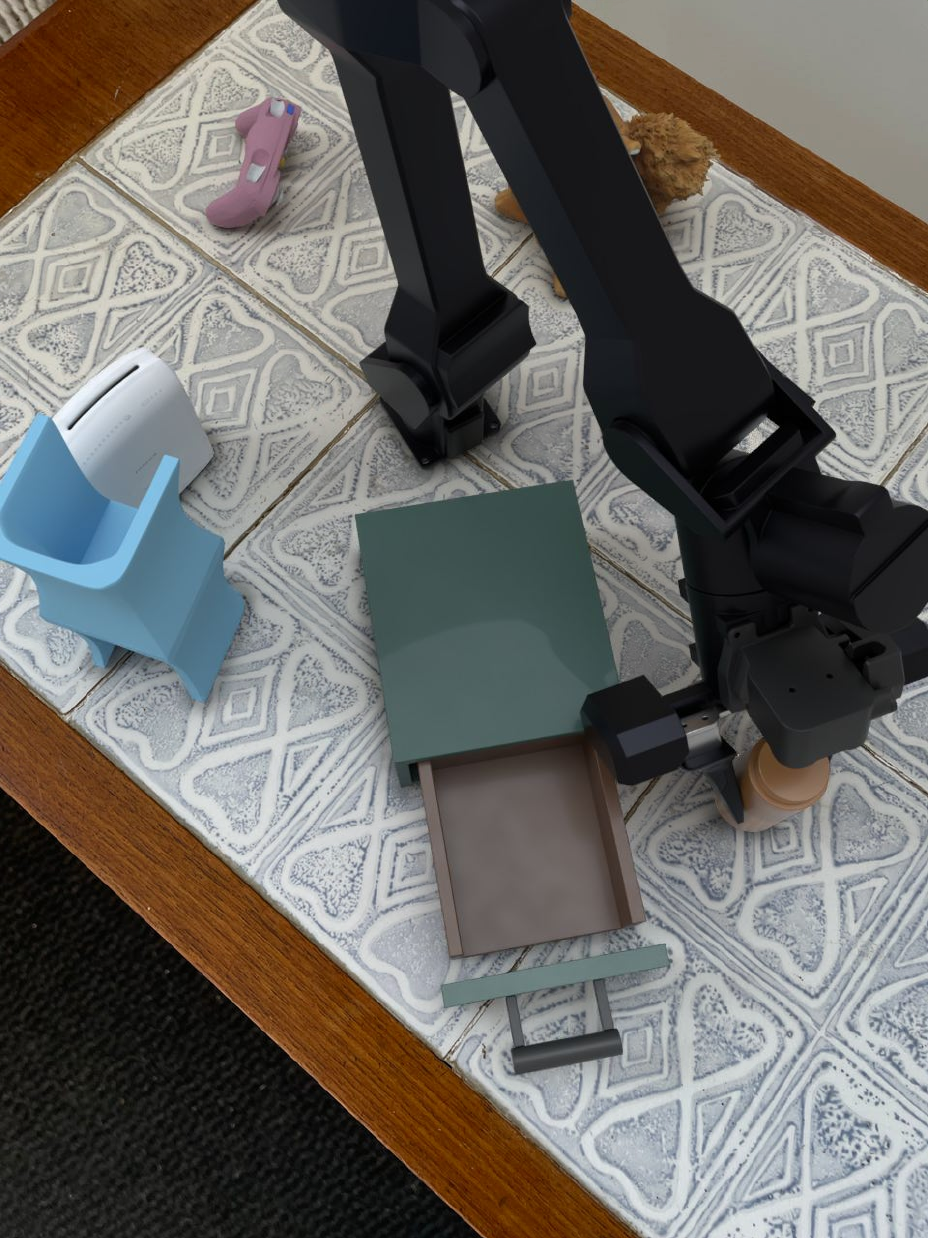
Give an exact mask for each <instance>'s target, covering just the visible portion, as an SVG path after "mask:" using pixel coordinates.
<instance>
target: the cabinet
mask: <svg viewBox="0 0 928 1238" xmlns="http://www.w3.org/2000/svg"><path fill="white" fill-rule="evenodd" d="M354 520H355V528H356V533H357V539H358V545H359V546H358V547H359V553H360V560H361V565H362V571H363V578H364V585H365V590H366V597H367V603H368V610H369V616H370V622H371V628H372V635H373V640H374V641H373V642H374V646H375V647H374V648H375V653H376V661H377V666H378V672H379V679H380V684H381V691H382V698H383V705H384V710H385V716H386V717H385V718H386V722H387V730H388V736H389V742H390V748H391V755H392V761H393V765H394V768H395V769H394V770H395V772H396V773H395V774H396V776H397V780H398V784H399V787H400V788H405V787H411V786H416V785H417V786H418V785H421V783H420V777H419V771H418V765H417V762H421V761H427V760H433V759H439V758H445V757H450V756H456V755H462V754H468V753H473V752H479V751H485V750H491V749H496V748H502V747H508V746H514V745H520V744H525V743H531V742H537V741H543V740H548V739H554V738H560V737H566V736H571V735H577V734H583V733H584V728H583V724H582V720H581V716H580V710H581V708H582V706H583V704H584V701H585V699H586V697H587V695H588V694H591V693H594V692H596V691H599V690H602V689H605V688H608V687H610V686H613V685H616V684H619V683H621V681H620V678H619V673H618V669H617V664H616V659H615V655H614V652H613V647H612V642H611V639H610V635H609V630H608V626H607V621H606V617H605V612H604V608H603V603H602V599H601V595H600V590H599V586H598V581H597V577H596V572H595V569H594V564H593V560H592V555H591V552H590V546H589V541H588V538H587V533H586V529H585V525H584V520H583V516H582V511H581V507H580V504H579V499H578V494H577V490H576V486H575V481H574V479H567V480H561V481H554V482H548V483H542V484H536V485H529V486H523V487H516V488H511V489H505V490H498V491H492V492H485V493H479V494H473V495H467V496H461V497H455V498H448V499H447V498H446V499H442V500H436V501H429V502H422V503H416V504H410V505H404V506H398V507H392V508H391V507H390V508H384V509H380V510H379V509H378V510H373V511H367V512H366V511H365V512H361V513H355V514H354Z"/></svg>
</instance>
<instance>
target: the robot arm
mask: <svg viewBox="0 0 928 1238" xmlns="http://www.w3.org/2000/svg"><path fill="white" fill-rule="evenodd" d="M276 2H277V4H278V6H279V8H280V10H281V12H283V14H284V15H285V16H286V17H288V18H289V19H290V20H292V21H293V22H294V23H295V24H296V25H298V26H299V27H300V28H301V29H302V30H303V31H305V32H306V33H307V34H308V35H309V36H311V37H312V38H313V39H314V40H316V41H317V42H318V43H319V44H320V45H322V46H323V47H324V48H325V49H326V50H327V51H329V53H330V55H331V59H332V60H333V65H334V66H335V71H336V74H337V77H338V80H339V84H340V87H341V91H342V95H343V98H344V102H345V105H346V108H347V112H348V115H349V118H350V122H351V125H352V129H353V132H354V136H355V139H356V142H357V146H358V150H359V153H360V156H361V160H362V163H363V167H364V171H365V173H366V177H367V181H368V184H369V189H370V191H371V194H372V198H373V202H374V204H375V209H376V211H377V215H378V218H379V219H378V220H379V222H380V225H381V230H382V232H383V235H384V240H385V243H386V246H387V249H388V253H389V258H390V259H391V263H392V267H393V270H394V274H395V278H396V281H397V287H396V290H395V293H394V296H393V298H392V303H391V305H390V308H389V311H388V314H387V317H386V321H385V324H384V327H383V335H384V340H385V341H383V342H382V343H381V344H380V345H379V346H378V347H376V348H375V349H374V350H372V351H371V352H369V354H367V356H365V357H363V358H362V359H361V360H360V361H359V363H358V364H359V366H360V369H361V372H362V374H363V376H364V378H365V381H366V383H367V385H368V386H369V387H370V388H371V389H372V390H373V391H374V392H375V393H376V394H377V395H378V396H379V404H380V405H381V406H380V407H382V409H383V411H384V413H385V414H386V416H387V417H388V419H389V420H390V422H391V424H392V425H393V427H394V428H395V430H396V432H397V434H398V435H399V436H400V438H401V439H402V441H403V443H404V444H405V447H407V449H408V451H409V452H410V454H411V456H412V457H413V458H414V460H415V462H416V464H417V465H418V467H419V468H420V469H423V470H428V469H430V468H432V467H435V466H437V465H438V464H440V463H442V462H444V461H446V460H454V459H456V458H458V457H460V456H461V455H464V454H466V453H467V452H469V451H471V450H473V449H475V448H477V447H479V446H481V445H482V444H483V442H484V441H485V440H486V439H487V440H488V438H491V437H492V436H494V435H497V434H498V433H499V432H500V431H501V430H502V422H501V420H500V419H499V417H498V415H497V414H496V413H495V411H494V409H493V408H492V407H491V405H490V404H489V402H488V401H487V399H486V397H485V396H484V395H485V393H486V392H487V391H488V390H490V389H491V388H492V387H493V386H495V385H496V384H497V383H499V381H500V380H501V379H503V378H505V376H506V375H508V374H509V373H510V372H511V371H512V370H514V369H515V368H516V367H517V366H519V365H520V364H521V363H522V362H524V360H526V358H528V357H529V355H530V353H531V350H532V349H534V348H535V347H536V346H537V340H536V339H535V336H534V334H533V331H532V328H531V324H530V306H529V304H528V303H526V302H525V301H523V300H522V299H520V298H519V297H518V295H517V294H516V293H515V292H513V291H512V290H511V289H509V288H508V287H506V286H505V285H503V284H502V283H500V282H499V281H498V280H497V279H495V278H494V277H493V276H491V275H490V274H488V272H487V269H486V267H485V263H484V257H483V252H482V248H481V247H482V246H481V241H480V237H479V232H478V227H477V223H476V217H475V211H474V207H473V201H472V197H471V192H470V187H469V181H468V176H467V172H466V171H467V170H466V166H465V162H464V161H465V160H464V155H463V150H462V145H461V141H460V135H459V131H458V125H457V121H456V115H455V110H454V105H453V100H452V95H451V92H453V93H455V94H456V95H458V96H460V97H461V98H462V99H463V100H464V102H465V104H466V106H467V108H468V110H469V112H470V113H471V115H472V117H473V119H474V121H475V123H476V125H477V127H478V129H479V131H480V133H481V135H482V137H483V139H484V140H485V142H486V144H487V147H488V148H489V150H490V152H491V154H492V157H493V158H494V160H495V162H496V163H497V165H498V167H499V170H500V171H501V174H502V175H503V178H504V179H505V180H506V183H507V186H508V185H509V187H510V188H511V190H512V192H513V194H514V196H515V198H516V200H517V202H518V204H519V206H520V208H521V210H522V212H523V213H524V215H525V217H526V219H527V221H528V223H529V224H528V225H529V227H530V229H531V230H532V234H533V233H534V235H535V236H536V238H537V240H538V242H539V244H540V246H541V247H540V248H541V250H542V252H543V254H544V256H545V257H546V259H547V262H548V264H549V266H550V267H551V269H552V271H553V274H554V273H555V275H556V277H557V279H558V281H559V282H560V284H561V286H562V288H563V290H564V292H565V294H566V296H567V297H566V298H567V299H568V302H569V303H570V305H571V307H572V309H573V311H574V313H575V315H576V317H577V320H578V322H579V325H580V327H581V329H582V332H583V335H584V350H583V351H584V355H583V371H582V372H583V373H582V389H583V391H584V394H585V396H586V398H587V401H588V403H589V406H590V408H591V411H592V413H593V415H594V418H595V420H596V422H597V424H598V427H599V429H600V432H601V434H602V436H601V438H602V445H603V448H604V450H605V453H606V454H607V457H609V459H610V460H611V461H610V462H612V464H613V465H614V466H615V468H616V469H617V470H618V471H619V472H620V473H621V474H622V475H623V476H624V477H625V478H626V479H628V481H630V482H631V483H632V484H633V485H635V486H636V487H637V488H638V489H640V491H642V492H644V494H646V495H647V496H649V498H651V499H652V500H653V501H654V502H656V503H657V504H658V505H659V506H661V507H662V508H663V509H664V510H665V511H667V512H668V513H670V514H671V515H672V516H673V518H674V524H675V530H676V536H677V541H678V542H677V543H678V547H679V553H680V559H681V565H682V571H683V577H682V578H679V579H677V580H676V581H677V586H678V593H679V597H680V598H681V599H683V600H684V601H685V602H686V603H687V604H688V607H689V613H690V619H691V625H692V630H693V636H694V642H691V643H689V644H688V650H689V656H690V660H691V661H692V662H693V664H695V665H696V666H697V668H699V671H700V672H699V673H700V679H698V680H695V681H692V682H690V683H689V685H688V686H686V687H682V688H681V689H678V690H675V691H673V692H670V693H665V694H664V695H662V694H661V693H660V692H659V690H658V689H657V688H656V686H654V685H653V684H652V682H651V681H650V680H649V679H648V677H647V676H645V674H641V675H639V676H636V677H633V678H630V679H628V680H627V679H626V680H624V681H622V682H620V683H619V684H616V685H613V686H610V687H608V688H605V689H602V690H599V691H596V692H594V693H591V694H588V695H587V697H586V699H585V701H584V704H583V706H582V708H581V710H580V716H581V720H582V724H583V728H584V733H585V736H586V737H587V739H588V740H589V742H590V743H591V745H592V746H593V748H594V749H595V751H596V752H597V753H598V755H599V756H600V758H601V759H602V761H603V762H604V764H605V765H606V766H607V768H608V769H609V771H610V772H611V774H612V775H613V777H614V778H615V781H616V783H617V784H618V785H621V786H628V787H634V786H637V785H641V784H643V783H645V782H648V781H650V780H653V779H656V778H659V777H661V776H664V775H666V774H669V773H672V772H675V771H677V770H679V769H680V770H681V771H683V772H685V773H691V774H692V773H696V772H699V771H701V772H702V774H703V775H704V777H705V779H706V780H707V782H708V784H709V785H710V787H711V788H712V789H713V792H714V791H715V793H716V794H717V796H718V797H719V799H720V800H721V802H722V803H723V805H724V806H725V808H726V810H727V811H728V813H729V814H730V816H731V817H732V818H733V819H734V821H735V822H736V823H737V824H741V823H744V808H743V802H742V798H741V795H740V791H739V787H738V783H737V779H736V775H735V771H734V767H733V763H732V762H733V761H734V760H735V759H736V758H737V757H738V751H736V749H735V748H734V747H733V746H732V745H731V744H730V743H729V742H728V741H727V739H726V738H725V737H724V736H723V735H722V734H721V729H720V720H721V719H722V718H724V717H726V716H727V717H728V716H730V715H734V714H737V713H739V712H742V711H746V713H747V715H748V716H749V718H750V719H751V721H752V722H753V724H754V725H755V727H756V728H757V730H758V731H759V733H760V735H761V736H762V737H764V739H765V740H766V742H767V743H768V745H769V746H770V749H771V751H772V754H773V755H774V757H775V758H776V759H777V761H778V762H779V763H781V764H782V765H784V766H786V767H788V768H792V769H800V768H804V767H808V766H810V765H812V764H814V763H815V762H816V761H818V760H820V759H823V758H826V757H828V759H829V764H830V765H831V761H832V759H833V757H834V755H837V754H839V753H841V752H844V751H852V750H855V749H858V748H860V747H861V746H863V745H864V744H865V743H866V741H867V740H868V735H869V730H870V726H871V722H872V721H873V720H876V719H880V718H881V717H885V716H887V715H889V714H892V713H895V712H896V711H898V708H899V707H898V705H899V704H898V701H897V700H898V699H901V698H902V695H903V690H904V687H905V686H908V685H910V684H912V683H915V682H918V681H921V680H924V679H926V678H928V622H926V621H924V620H923V619H921V618H920V617H919V616H920V614H921V613H922V612H923V610H925V608H926V607H927V605H928V509H926V508H924V507H923V506H920V505H919V504H914V503H910V502H906V501H903V500H899V499H895V498H892V497H891V494H890V491H889V490H888V489H887V488H886V487H885V486H884V485H881V484H877V483H872V482H869V481H864V480H848V479H844V478H840V477H839V478H838V477H835V476H831V475H827V474H823V472H821V469H820V466H819V464H818V460H817V458H816V457H817V456H818V455H819V454H821V453H822V452H823V451H824V450H825V449H826V448H827V447H828V446H829V445H830V444H831V443H833V442H834V441H835V439H837V433H836V430H835V429H834V428H833V427H832V426H831V425H830V424H829V423H828V422H827V421H826V420H825V419H824V418H823V417H822V416H821V414H819V412H818V411H817V410H816V409H815V408H814V406H815V404H816V400H815V399H814V398H813V397H811V396H810V395H809V393H806V391H805V390H803V389H802V388H801V387H800V386H799V385H798V384H796V382H794V381H793V380H792V379H791V378H789V377H788V376H787V375H786V374H785V373H783V371H782V370H780V369H779V368H778V367H777V366H775V365H774V364H773V363H772V362H770V361H769V359H768V358H766V356H765V355H764V354H763V353H762V352H761V351H760V350H759V349H758V348H757V347H756V345H755V344H754V343H753V341H752V339H751V338H750V336H749V334H748V332H747V331H746V329H745V327H744V325H743V324H742V322H741V320H740V319H739V316H738V314H736V312H735V311H734V310H733V309H732V308H730V307H729V306H728V305H726V304H724V303H722V302H721V301H719V300H717V299H715V298H713V297H712V296H710V295H708V294H707V293H705V292H703V291H701V290H700V289H698V288H696V287H695V286H694V284H693V282H692V281H691V280H690V278H689V276H688V275H687V273H686V271H685V270H684V268H683V266H682V264H681V263H680V260H679V258H678V256H677V254H676V252H675V249H674V247H673V245H672V243H671V241H670V238H669V236H668V235H667V234H668V233H667V232H666V230H665V227H664V226H663V223H662V221H661V219H660V216H659V217H658V214H657V212H656V210H655V208H654V206H653V204H652V201H651V199H650V197H649V195H648V193H647V190H646V188H645V186H644V184H643V182H642V180H641V177H640V175H639V173H638V171H637V169H636V166H635V164H634V162H633V160H632V158H631V155H630V153H629V151H628V149H627V147H626V145H625V142H624V140H623V138H622V136H621V134H620V131H619V129H618V127H617V125H616V123H615V120H614V118H613V116H612V114H611V112H610V110H609V107H608V105H607V103H606V101H605V99H604V96H603V95H604V94H603V92H602V90H601V88H600V86H599V84H598V81H596V80H597V78H596V79H595V77H594V75H593V74H594V72H593V70H592V68H591V66H590V63H589V61H588V59H587V57H586V55H585V53H584V51H583V48H582V46H581V43H580V42H579V40H578V37H577V36H576V33H575V31H574V29H573V26H572V24H571V22H570V21H571V18H572V14H573V4H572V3H573V2H572V0H276ZM534 235H533V236H534ZM766 419H768V420H769V421H770V422H772V423H773V424H775V426H777V428H776V429H775V430H774V431H773V432H772V433H771V434H770V435H768V436H767V438H766V439H764V440H763V441H762V442H761V443H759V445H757V447H756V448H754V449H753V450H752V451H751V452H749V451H743V450H739V449H736V447H737V446H738V445H739V444H740V443H741V442H742V441H743V440H745V438H746V437H748V436H750V434H751V433H752V432H753V431H754V430H755V429H757V428H758V427H759V426H760V425H761V424H762V423H763V422H764V421H765V420H766ZM492 425H496V426H495V427H493V426H492ZM424 460H425V461H427V462H426V463H424V462H423V461H424Z"/></svg>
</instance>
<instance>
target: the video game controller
mask: <svg viewBox="0 0 928 1238" xmlns="http://www.w3.org/2000/svg"><path fill="white" fill-rule="evenodd" d="M302 109H303V108H302V106H301V105H298V104H296V103H294V102H293V101H290V100H289V99H285V98H282V97H274V96H273V97H272V96H271V97H267V98H265V99H264V100H263V101H262V102H261V103H259V104H257V105H255V106H252V107H249V108H248V109H245V110H244V111H242V112H241V113H240V114H239V115H238V116H237V117H236V119H235V122H234V124H235V129H236V131H237V132H238V133H239V134H240V135H241V136H242V137H243V138H245V144H244V145H245V146H244V147H245V148H244V151H245V154H244V157H243V158H244V159H243V161H242V164H241V167H240V171H239V175H238V179H237V183H236V185H235V186H234V187H233V188H232V189H231V190H230V191H228V192H227V193H225V194H223V195H222V196H219V197H218V198H216V199H214V200H212V201H210V203H209V204H208V206H206V209H205V216H206V218H207V220H208V221H209V222H210V223H211V224H212V225H214V226H216V227H218V228H219V227H220V228H226V229H230V228H238V227H239V228H240V227H242V226H246V225H248V224H250V223H252V222H254V221H255V220H257V219H258V218H260V217H264V216H265V215H266V213H267V211H268V210H269V208H270V206H271V205H273V204H275V207H278V206H279V205H280V204H282V202H283V200H284V197H285V195H284V190H283V189H281V190H279V186H280V182H279V181H280V178H281V170H279V168H283V166H284V165H285V162H286V158H285V157H284V154H285V153H286V151H287V149H288V146H289V145H290V142H291V140H292V139H293V138H294V137H295V134H296V133H297V129H298V126H299V120H300V117H301V114H302Z"/></svg>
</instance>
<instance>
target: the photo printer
mask: <svg viewBox="0 0 928 1238" xmlns="http://www.w3.org/2000/svg"><path fill="white" fill-rule="evenodd" d="M190 399H191V398H190V397H189V395H188V393H187V391H186V389H185V387H184V386H183V383H182V382H181V380H180V379H179V377H178V375H177V374H176V372H175V370H174V369H173V368H172V366H171V365H170V364H169V363H168V362H167V361H165V360H164V359H163V358H161V357H159V356H157V355H155V354H154V353H153V352H152V351H151V350H150V349H149V348H148V347H144V346H141V347H139V348H135V349H134V350H132V351H130V352H127V353H125V354H124V355H123V356H121V357H119V358H118V359H116V360H115V361H113V362H112V363H110V364H109V365H107V366H106V367H104V368H103V369H102V370H101V371H99V372H98V373H97V374H96V375H95V376H92V377H91V378H90V379H89V380H88V382H87V383H86V384H84V385H83V386H81V387H80V388H79V390H78V391H77V392H75V394H73V395H72V396H71V397H70V398H69V399H68V400H67V402H65V404H63V406H62V407H61V408H60V409H59V410H58V411H57V412H56V413H55V414H54V416H53V417H51V418H52V420H53V421H54V423H55V425H56V426H57V428H58V430H59V432H60V434H61V436H62V437H63V439H64V441H65V443H66V445H67V447H68V448H69V450H70V452H71V454H72V456H73V457H74V459H75V461H76V462H77V464H78V466H79V467H80V469H81V471H82V472H83V474H84V475H85V477H86V478H87V480H88V481H89V482H90V484H91V485H92V486H93V487H94V488H95V489H96V490H97V491H98V492H99V493H100V494H101V495H103V496H104V497H106V498H108V499H110V500H113V501H116V502H119V503H122V504H125V505H128V506H131V507H133V508H136V509H139V507H140V505H141V503H142V501H143V498H144V496H145V494H146V492H147V490H148V488H149V486H150V484H151V482H152V480H153V478H154V476H155V473H156V471H157V469H158V467H159V465H160V463H161V461H162V459H163V457H164V455H165V454H166V455H169V456H172V457H175V458H178V459H180V470H179V485H178V490H179V495H180V494H182V492H183V491H184V490H185V489H186V488H187V487H188V486H189V485H190V484H191V483H192V481H193V480H194V479H196V477H198V476H199V474H200V473H201V472H202V471H203V470H204V469H205V468H206V466H207V465H208V464H209V462H210V461H211V459H212V458H213V457H214V452H215V451H214V448H213V446H212V444H211V441H210V439H209V437H208V434H207V433H206V430H205V429H204V426H203V425H202V422H201V420H200V418H199V416H198V414H197V412H196V410H195V408H194V405H193V404H192V402H191V400H190Z"/></svg>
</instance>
